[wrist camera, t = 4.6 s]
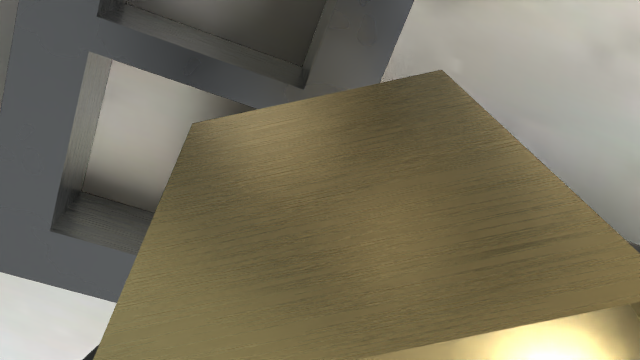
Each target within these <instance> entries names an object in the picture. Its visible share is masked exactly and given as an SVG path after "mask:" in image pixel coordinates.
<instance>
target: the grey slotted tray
mask: <svg viewBox="0 0 640 360" xmlns="http://www.w3.org/2000/svg"><path fill="white" fill-rule="evenodd" d="M413 2H414V0H326V3H325V5H324V8H323V11H322V14H321V16H320V19H319V22H318V25H317V27H316V30H315V33H314V36H313V39H312V41H311V44H310V47H309V50H308V52H307V55H306V58H305V61H304V63H303V66H302V67H300V66H297V65H295V64H292V63H289V62H286V61H284V60H281V59H278V58H275V57H272V56H270V55H267V54H264V53H261V52H259V51H256V50H253V49H250V48H247V47H245V46H242V45H239V44H236V43H234V42H231V41H228V40H225V39H222V38H220V37H217V36H214V35H211V34H209V33H206V32H203V31H200V30H197V29H195V28H192V27H189V26H186V25H184V24H181V23H178V22H175V21H172V20H170V19H167V18H164V17H161V16H159V15H156V14H153V13H150V12H147V11H145V10H142V9H139V8H136V7H134V6H131V5H128V4H125V3H126V0H19V3H18V9H17V15H16V21H15V27H14V33H13V39H12V45H11V52H10V58H9V64H8V70H7V76H6V82H5V88H4V94H3V100H2V106H1V112H0V272H3V273H6V274H10V275H14V276H18V277H21V278H25V279H29V280H33V281H36V282H40V283H44V284H48V285H52V286H55V287H59V288H63V289H67V290H70V291H74V292H78V293H82V294H85V295H89V296H93V297H97V298H100V299H104V300H108V301H112V302H116V303H117V302H118V299H119V297H120V295H121V292H122V290H123V288H124V285H125V283H126V280H127V278H128V276H129V273H130V271H131V269H132V266H133V264H134V261H135V259H136V257H137V254H138V252H139V250H140V247H141V245H142V242H143V240H144V238H145V235H146V233H147V231H148V228H149V226H150V223H151V221H152V219H153V216H154V214H155V213H152V212H148V211H145V210H142V209H138V208H135V207H132V206H128V205H125V204H121V203H118V202H115V201H111V200H108V199H105V198H101V197H98V196H95V195H91V194H88V193H84V192H81V191H82V186H83V182H84V178H85V174H86V169H87V165H88V161H89V157H90V152H91V148H92V144H93V139H94V135H95V131H96V127H97V122H98V118H99V114H100V110H101V105H102V101H103V97H104V93H105V88H106V84H107V80H108V76H109V71H110V67H111V63H112V59H113V60H116V61H119V62H121V63H124V64H127V65H130V66H133V67H136V68H139V69H142V70H145V71H148V72H151V73H154V74H157V75H160V76H162V77H165V78H168V79H171V80H174V81H177V82H180V83H183V84H186V85H189V86H192V87H195V88H198V89H201V90H204V91H206V92H209V93H212V94H215V95H218V96H221V97H224V98H227V99H230V100H233V101H236V102H239V103H242V104H245V105H247V106H250V107H253V108H256V109H262V108H267V107H272V106H276V105H281V104H285V103H290V102H295V101H299V100H304V99H309V98H313V97H318V96H323V95H327V94H332V93H337V92H341V91H346V90H351V89H355V88H360V87H364V86H369V85H374V84H378V83H380V81H381V78H382V76H383V74H384V71H385V69H386V66H387V64H388V62H389V59H390V57H391V54H392V52H393V50H394V47H395V45H396V42H397V40H398V38H399V35H400V33H401V31H402V28H403V26H404V23H405V21H406V19H407V16H408V14H409V11H410V9H411V7H412V4H413Z"/></svg>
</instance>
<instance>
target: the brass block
mask: <svg viewBox="0 0 640 360" xmlns="http://www.w3.org/2000/svg"><path fill="white" fill-rule="evenodd" d="M93 360H640V253H639V252H638V251H637V250H635V249H634V248H633V247H632V246H631V245H630V244H629V243H628V242H627V241H626V240H625V239H624V238H623V237H621V236H620V235H619V234H618V233H617V232H616V231H615V230H614V229H613V228H612V227H611V226H610V225H609V224H607V223H606V222H605V221H604V220H603V219H602V218H601V217H600V216H599V215H598V214H597V213H596V212H595V211H593V210H592V209H591V208H590V207H589V206H588V205H587V204H586V203H585V202H584V201H583V200H582V199H580V198H579V197H578V196H577V195H576V194H575V193H574V192H573V191H572V190H571V189H570V188H569V187H568V186H566V185H565V184H564V183H563V182H562V181H561V180H560V179H559V178H558V177H557V176H556V175H555V174H554V173H552V172H551V171H550V170H549V169H548V168H547V167H546V166H545V165H544V164H543V163H542V162H541V161H540V160H538V159H537V158H536V157H535V156H534V155H533V154H532V153H531V152H530V151H529V150H528V149H527V148H525V147H524V146H523V145H522V144H521V143H520V142H519V141H518V140H517V139H516V138H515V137H514V136H513V135H511V134H510V133H509V132H508V131H507V130H506V129H505V128H504V127H503V126H502V125H501V124H500V123H499V122H497V121H496V120H495V119H494V118H493V117H492V116H491V115H490V114H489V113H488V112H487V111H486V110H484V109H483V108H482V107H481V106H480V105H479V104H478V103H477V102H476V101H475V100H474V99H473V98H472V97H470V96H469V95H468V94H467V93H466V92H465V91H464V90H463V89H462V88H461V87H460V86H459V85H458V84H456V83H455V82H454V81H453V80H452V79H451V78H450V77H449V76H448V75H447V74H446V73H445V72H444V71H442V70H439V71H434V72H429V73H425V74H420V75H416V76H411V77H406V78H402V79H397V80H392V81H388V82H383V83H378V84H374V85H369V86H364V87H360V88H355V89H351V90H346V91H341V92H337V93H332V94H327V95H323V96H318V97H313V98H309V99H304V100H299V101H295V102H290V103H285V104H281V105H276V106H272V107H267V108H262V109H258V110H253V111H248V112H244V113H239V114H234V115H230V116H225V117H220V118H216V119H211V120H207V121H202V122H197V123H193V124H192V126H191V128H190V131H189V133H188V136H187V138H186V140H185V143H184V145H183V147H182V150H181V152H180V155H179V157H178V159H177V162H176V164H175V166H174V169H173V171H172V174H171V176H170V178H169V181H168V183H167V185H166V188H165V190H164V193H163V195H162V197H161V200H160V202H159V204H158V207H157V209H156V212H155V214H154V216H153V219H152V221H151V223H150V226H149V228H148V231H147V233H146V235H145V238H144V240H143V242H142V245H141V247H140V250H139V252H138V254H137V257H136V259H135V261H134V264H133V266H132V269H131V271H130V273H129V276H128V278H127V280H126V283H125V285H124V288H123V290H122V292H121V295H120V297H119V299H118V302H117V304H116V307H115V309H114V311H113V314H112V316H111V318H110V321H109V323H108V326H107V328H106V330H105V333H104V335H103V337H102V340H101V342H100V345H99V347H98V349H97V352H96V354H95V356H94V359H93Z"/></svg>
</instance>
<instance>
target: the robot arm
mask: <svg viewBox="0 0 640 360" xmlns="http://www.w3.org/2000/svg"><path fill="white" fill-rule="evenodd" d="M627 242H628V241H627ZM628 243H629V244H630V245H631V246H632V247H633V248H634V249H635V250H637V251H638V252H639V253H640V246H639V245H636V244H633V243H631V242H628ZM99 345H100V344H99ZM99 345H98V346H97V347H96V348H95V349H94V350H93V351H91V352H90V353H89V354H88V355H87V356H86V357H85V358H84V359H83V360H93V359H94V356H95V354H96V352H97V349H98V347H99Z"/></svg>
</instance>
